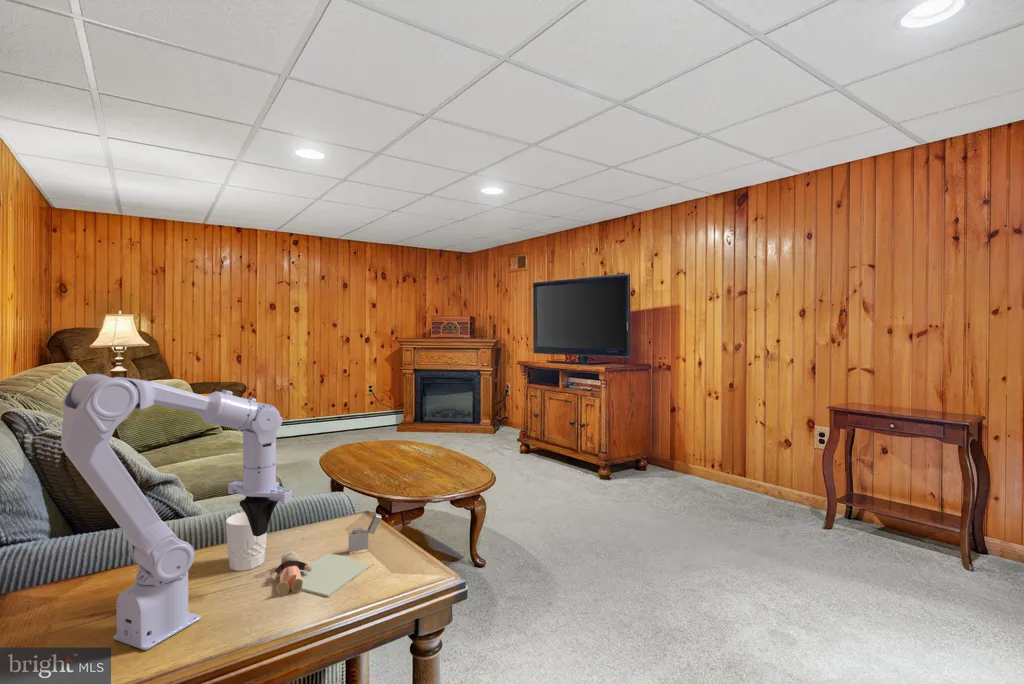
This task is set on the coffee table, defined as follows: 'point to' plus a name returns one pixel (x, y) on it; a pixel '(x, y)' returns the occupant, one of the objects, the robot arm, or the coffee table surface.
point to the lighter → (362, 535)
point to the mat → (330, 574)
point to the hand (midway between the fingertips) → (259, 534)
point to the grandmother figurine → (290, 573)
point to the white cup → (244, 544)
